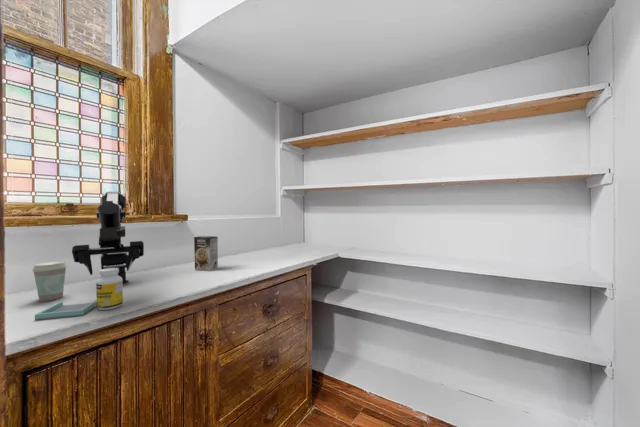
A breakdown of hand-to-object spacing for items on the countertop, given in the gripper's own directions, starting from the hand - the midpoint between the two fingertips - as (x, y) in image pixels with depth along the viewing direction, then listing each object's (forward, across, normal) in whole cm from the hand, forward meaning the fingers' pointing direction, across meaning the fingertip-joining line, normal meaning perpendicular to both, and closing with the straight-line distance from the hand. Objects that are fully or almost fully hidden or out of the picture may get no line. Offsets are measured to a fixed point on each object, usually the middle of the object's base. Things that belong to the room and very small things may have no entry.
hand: (109, 272), depth 89 cm
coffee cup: (-7, -17, +22) cm, 28 cm away
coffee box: (-17, +36, +32) cm, 51 cm away
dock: (+7, -10, +7) cm, 14 cm away
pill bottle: (+10, 0, +5) cm, 11 cm away
